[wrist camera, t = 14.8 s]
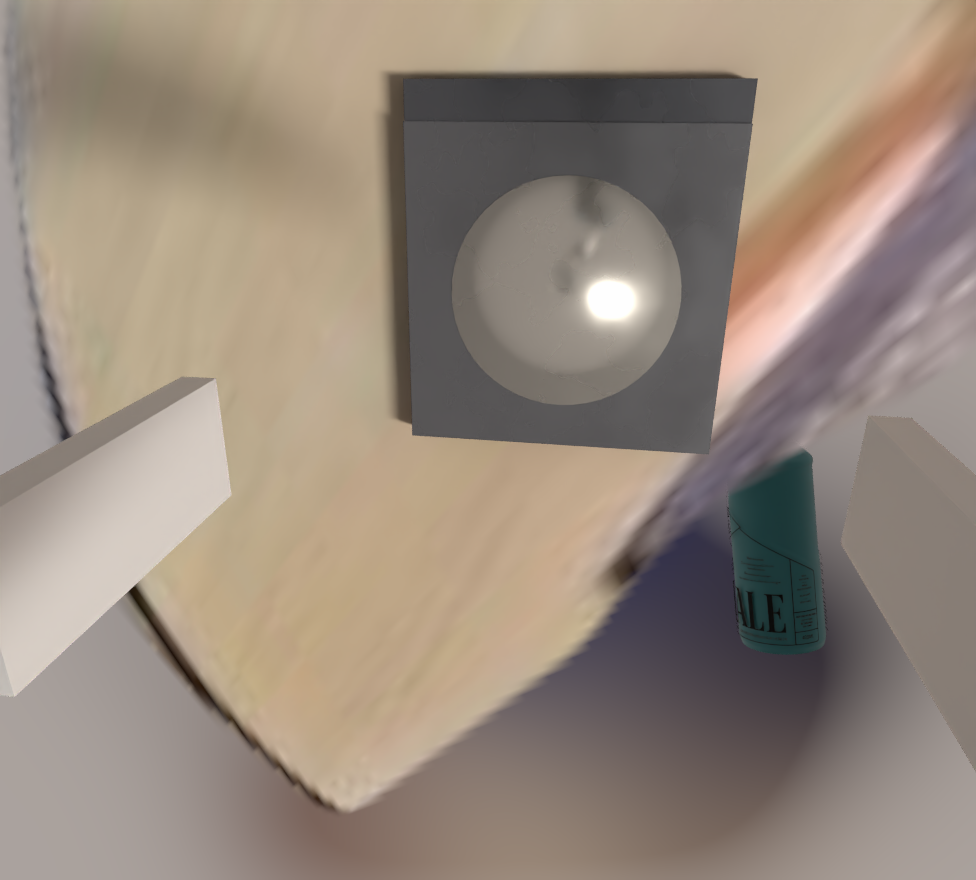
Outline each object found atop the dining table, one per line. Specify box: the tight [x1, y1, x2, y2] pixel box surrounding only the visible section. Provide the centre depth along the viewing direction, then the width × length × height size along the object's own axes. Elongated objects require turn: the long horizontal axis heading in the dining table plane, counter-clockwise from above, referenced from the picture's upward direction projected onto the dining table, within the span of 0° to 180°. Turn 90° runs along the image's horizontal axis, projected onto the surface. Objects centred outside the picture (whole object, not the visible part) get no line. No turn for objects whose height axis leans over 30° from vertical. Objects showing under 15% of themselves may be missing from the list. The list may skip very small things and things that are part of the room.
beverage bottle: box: [726, 448, 826, 655], centre depth 55 cm, size 6×7×20 cm
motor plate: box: [403, 79, 758, 454], centre depth 32 cm, size 16×14×1 cm
